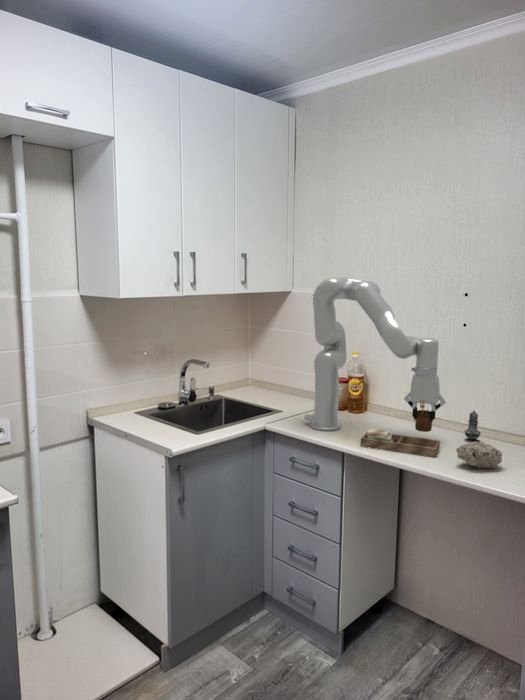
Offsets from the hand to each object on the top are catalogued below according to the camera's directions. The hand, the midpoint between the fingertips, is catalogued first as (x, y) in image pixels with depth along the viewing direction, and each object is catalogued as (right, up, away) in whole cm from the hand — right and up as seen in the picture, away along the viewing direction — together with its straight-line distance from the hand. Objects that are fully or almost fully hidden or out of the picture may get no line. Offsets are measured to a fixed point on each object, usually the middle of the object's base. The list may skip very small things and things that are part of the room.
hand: (423, 419), depth 201 cm
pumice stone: (+10, -12, -25) cm, 30 cm away
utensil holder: (0, -4, +1) cm, 4 cm away
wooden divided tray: (-11, -9, -7) cm, 16 cm away
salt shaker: (+19, -9, +2) cm, 21 cm away
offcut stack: (-18, -9, -5) cm, 21 cm away
